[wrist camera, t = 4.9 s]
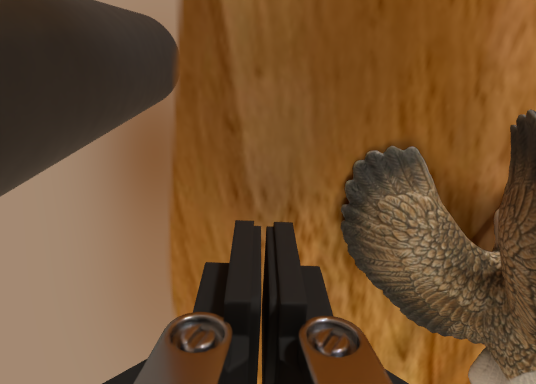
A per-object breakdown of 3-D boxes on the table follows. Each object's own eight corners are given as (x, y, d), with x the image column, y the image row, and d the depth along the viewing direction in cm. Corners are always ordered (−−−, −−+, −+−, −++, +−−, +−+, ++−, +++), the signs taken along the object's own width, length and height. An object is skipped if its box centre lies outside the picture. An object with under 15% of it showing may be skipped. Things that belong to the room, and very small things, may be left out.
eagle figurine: (670, 210, 13) (537, 33, 10) (805, 466, 9) (656, 324, 5) (456, 268, 18) (316, 168, 15) (476, 446, 14) (287, 368, 11)
